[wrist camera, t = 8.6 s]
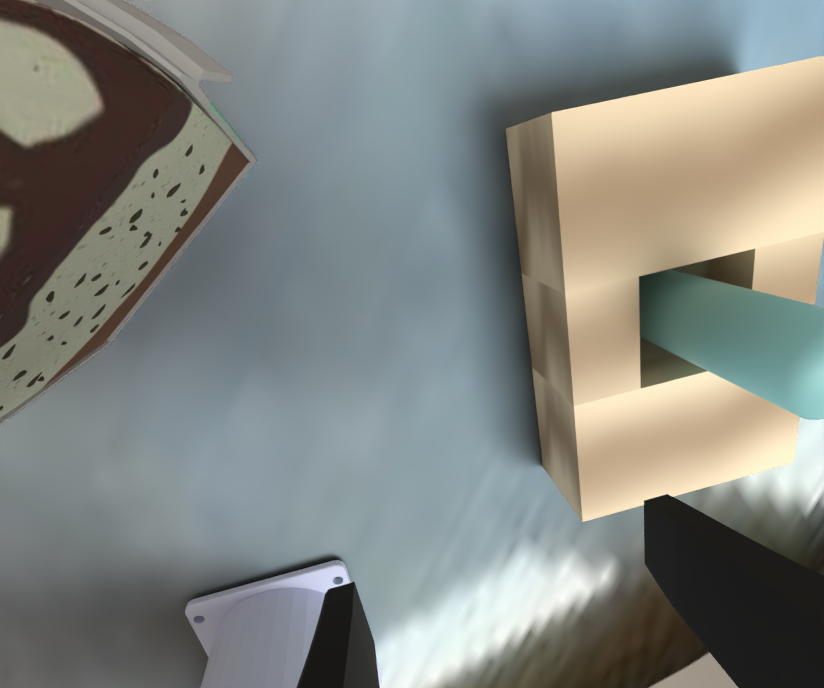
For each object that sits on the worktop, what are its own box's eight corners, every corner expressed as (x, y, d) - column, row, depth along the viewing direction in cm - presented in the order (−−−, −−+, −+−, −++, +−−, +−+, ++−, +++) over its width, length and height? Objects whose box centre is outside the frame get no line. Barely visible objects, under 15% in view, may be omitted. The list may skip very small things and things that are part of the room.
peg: (660, 317, 21) (875, 405, 13) (601, 332, 21) (778, 431, 12) (661, 255, 20) (895, 304, 12) (598, 270, 20) (790, 331, 11)
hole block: (721, 418, 24) (793, 462, 20) (543, 467, 23) (582, 521, 19) (742, 79, 18) (848, 50, 14) (505, 128, 17) (551, 112, 13)
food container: (124, -23, 14) (-311, -445, 5) (283, 127, 16) (203, 44, 7) (-79, 269, 16) (-685, 387, 6) (88, 371, 18) (-190, 573, 8)
